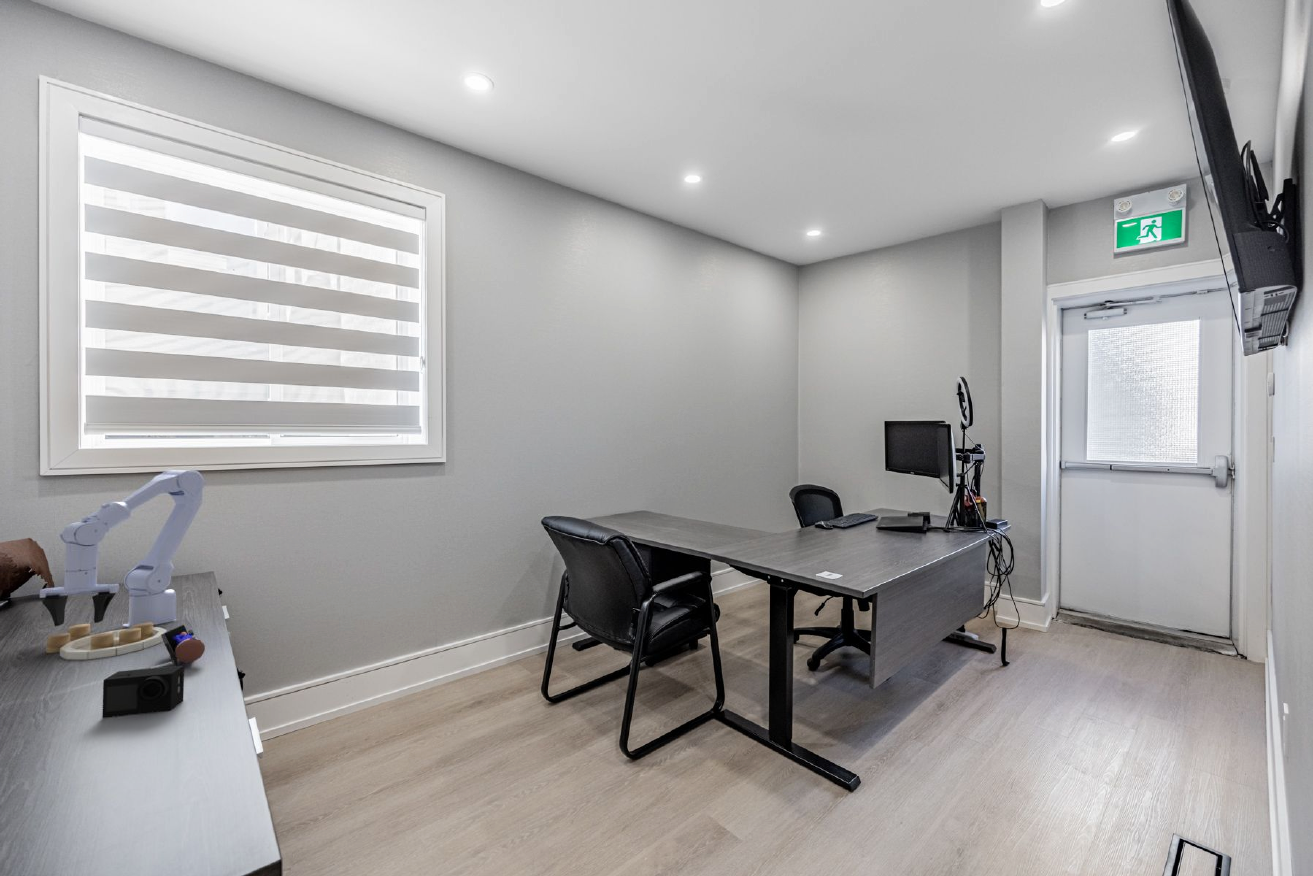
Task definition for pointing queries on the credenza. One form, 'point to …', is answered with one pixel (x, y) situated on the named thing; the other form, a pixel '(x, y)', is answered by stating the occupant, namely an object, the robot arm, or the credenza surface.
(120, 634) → the seated bead
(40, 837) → the credenza surface
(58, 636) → the bead
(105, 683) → the digital camera
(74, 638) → the bead
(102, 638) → the seated bead
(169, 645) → the character figurine
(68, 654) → the tray
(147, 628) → the seated bead
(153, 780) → the credenza surface
